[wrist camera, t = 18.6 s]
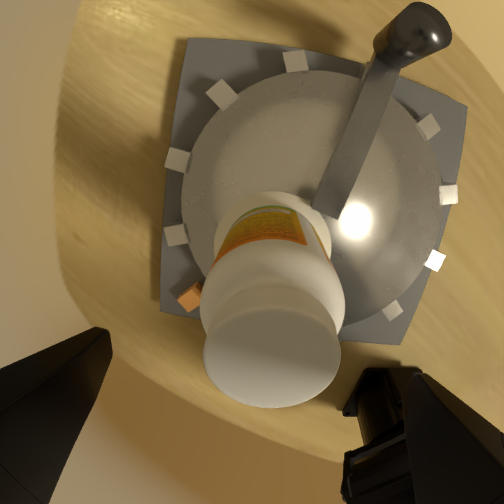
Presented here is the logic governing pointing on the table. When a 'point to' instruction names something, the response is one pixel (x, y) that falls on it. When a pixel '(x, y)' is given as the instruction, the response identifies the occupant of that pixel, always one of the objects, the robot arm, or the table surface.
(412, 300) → the sprocket base
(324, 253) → the supplement bottle
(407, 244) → the sprocket
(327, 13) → the table surface
